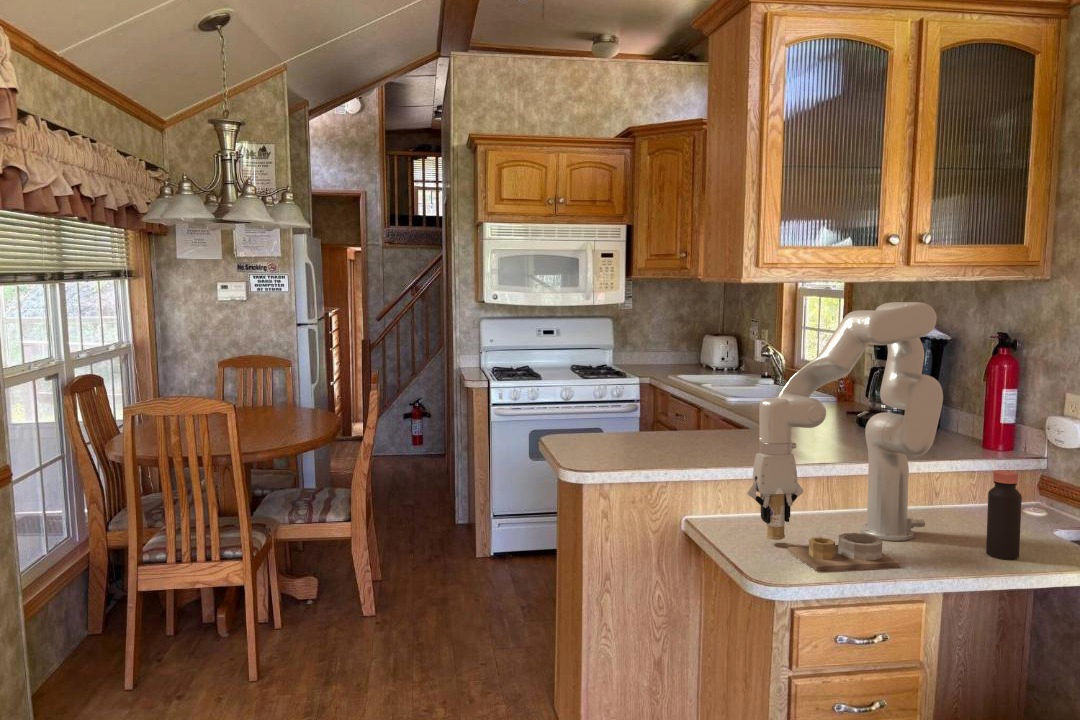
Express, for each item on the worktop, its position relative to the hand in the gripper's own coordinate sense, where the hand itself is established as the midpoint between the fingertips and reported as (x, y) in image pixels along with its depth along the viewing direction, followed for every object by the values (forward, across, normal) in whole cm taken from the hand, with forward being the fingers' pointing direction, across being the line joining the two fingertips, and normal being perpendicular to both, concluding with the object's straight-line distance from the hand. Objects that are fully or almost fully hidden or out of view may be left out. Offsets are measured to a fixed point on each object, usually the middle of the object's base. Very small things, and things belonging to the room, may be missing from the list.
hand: (775, 520), depth 190 cm
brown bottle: (+7, -49, +16) cm, 52 cm away
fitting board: (+6, -10, +13) cm, 18 cm away
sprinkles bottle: (+5, 0, 0) cm, 5 cm away
